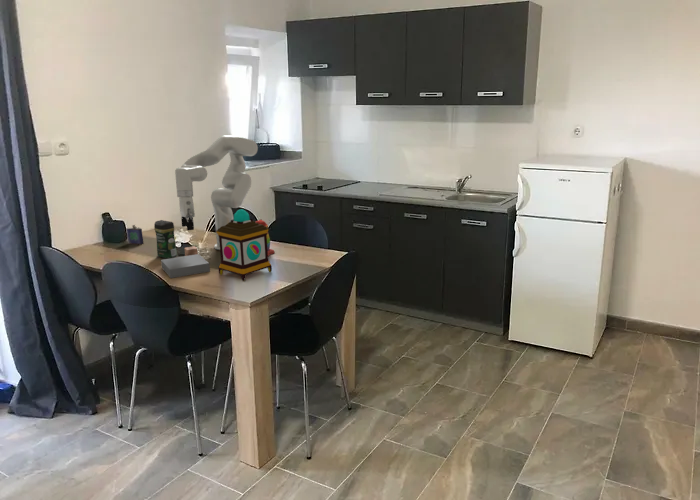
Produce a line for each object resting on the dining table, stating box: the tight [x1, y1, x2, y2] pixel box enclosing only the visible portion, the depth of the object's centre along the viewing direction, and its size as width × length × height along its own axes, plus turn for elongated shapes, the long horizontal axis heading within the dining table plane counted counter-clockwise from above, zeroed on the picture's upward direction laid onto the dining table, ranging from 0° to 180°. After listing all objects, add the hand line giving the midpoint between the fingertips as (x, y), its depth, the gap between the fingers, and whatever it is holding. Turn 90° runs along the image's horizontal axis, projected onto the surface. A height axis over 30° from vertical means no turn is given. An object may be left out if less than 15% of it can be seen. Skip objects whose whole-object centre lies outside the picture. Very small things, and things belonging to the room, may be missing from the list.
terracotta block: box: [183, 246, 198, 256], centre depth 288 cm, size 5×5×6 cm
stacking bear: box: [255, 219, 276, 258], centre depth 293 cm, size 11×10×18 cm
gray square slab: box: [160, 254, 211, 279], centre depth 273 cm, size 18×18×4 cm
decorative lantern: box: [215, 208, 273, 282], centre depth 262 cm, size 20×20×30 cm
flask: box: [125, 224, 144, 246], centre depth 320 cm, size 9×3×11 cm, turn 76°
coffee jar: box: [153, 219, 178, 259], centre depth 293 cm, size 10×8×19 cm
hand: (187, 228), depth 284 cm, fingers open, 9 cm apart
